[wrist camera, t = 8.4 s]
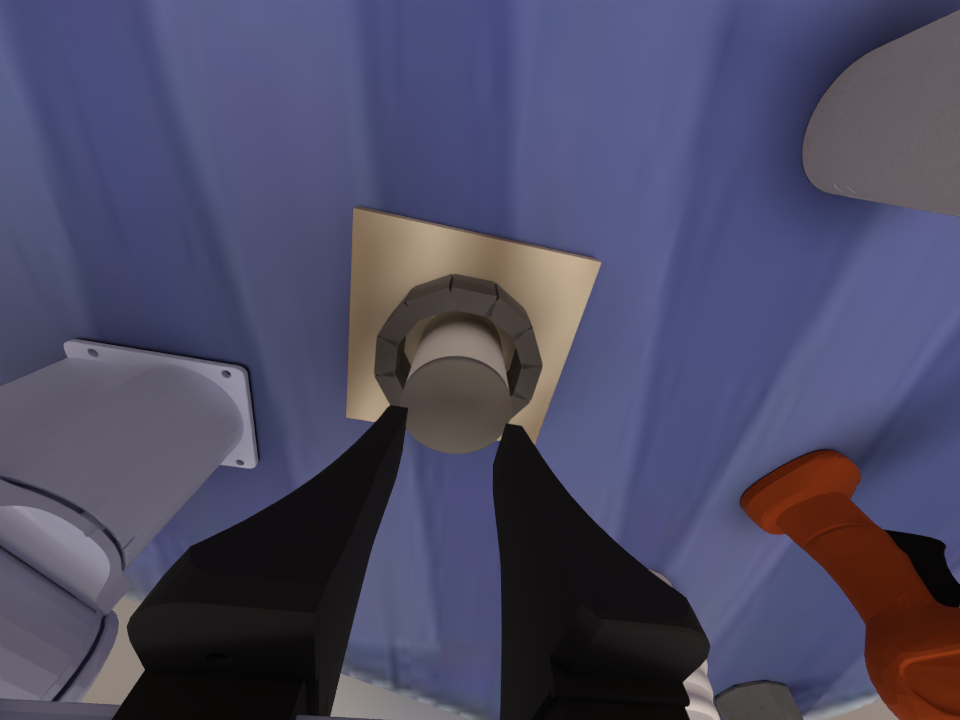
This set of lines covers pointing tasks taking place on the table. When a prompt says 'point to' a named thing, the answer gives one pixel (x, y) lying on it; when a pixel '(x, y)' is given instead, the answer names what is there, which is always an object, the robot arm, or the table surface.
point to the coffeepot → (757, 702)
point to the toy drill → (873, 581)
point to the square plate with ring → (458, 307)
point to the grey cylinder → (457, 385)
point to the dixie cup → (893, 124)
